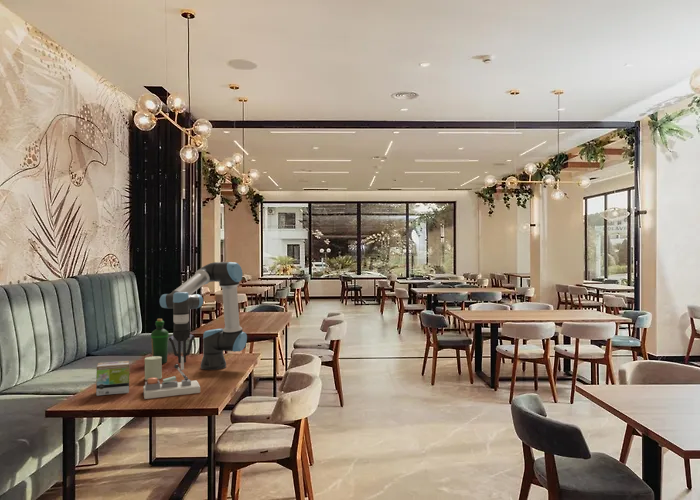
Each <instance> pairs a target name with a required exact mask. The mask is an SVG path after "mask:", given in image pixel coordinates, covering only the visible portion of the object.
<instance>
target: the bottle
mask: <svg viewBox="0 0 700 500" xmlns="http://www.w3.org/2000/svg"><path fill="white" fill-rule="evenodd" d="M154 325H155V327H156V329H154V330H153V331H151V333H150V342H151V357H152V356H160V357H162V364H163V365H164V364H166V363H167V362H168V354H169V352H168V351H169V350H168V349H169V348H168V347H169V339H168V338H169V334H170V333H169V331H168V330H167V329H165V328H164V325H165V321H164V320H163V318H157V319H156V321H155V323H154Z"/></svg>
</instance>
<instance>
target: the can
mask: <svg viewBox="0 0 700 500" xmlns="http://www.w3.org/2000/svg"><path fill="white" fill-rule="evenodd" d="M162 369H163V366H162V357H160V356H152V355H151V356H146V357H145V358H144V380H145V381H148V378H157V379H158V380H160V379H162V378H163V375H162V374H163V372H162V371H163V370H162Z"/></svg>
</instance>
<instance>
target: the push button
mask: <svg viewBox="0 0 700 500" xmlns="http://www.w3.org/2000/svg"><path fill="white" fill-rule="evenodd" d="M158 381H159V379H157V378H148V380H147V382H148V384H157V383H158Z"/></svg>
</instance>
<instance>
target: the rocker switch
mask: <svg viewBox="0 0 700 500" xmlns="http://www.w3.org/2000/svg"><path fill="white" fill-rule="evenodd" d="M170 381H177V377H176V376H175V375H173V376H170V377H166V378H163V379H162V382H164V383H166V382H170Z"/></svg>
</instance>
